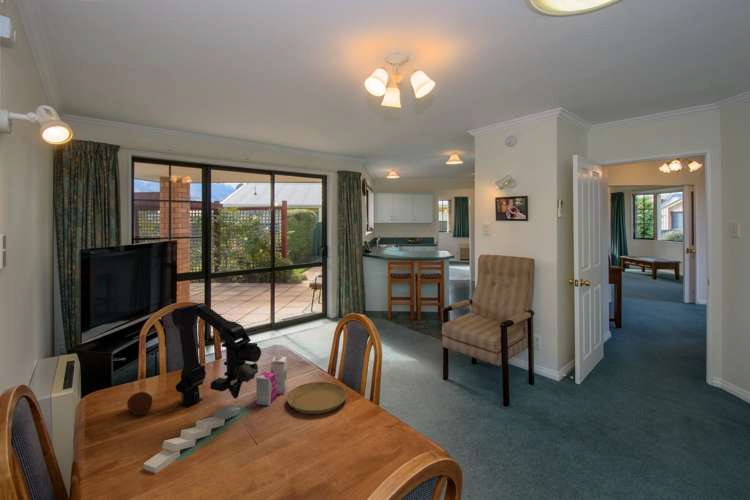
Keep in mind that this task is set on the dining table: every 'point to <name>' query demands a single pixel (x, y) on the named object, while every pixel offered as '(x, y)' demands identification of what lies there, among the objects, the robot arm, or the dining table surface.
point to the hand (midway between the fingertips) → (235, 398)
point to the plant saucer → (316, 397)
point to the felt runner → (212, 434)
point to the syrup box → (280, 373)
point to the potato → (140, 403)
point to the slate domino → (227, 412)
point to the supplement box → (266, 389)
